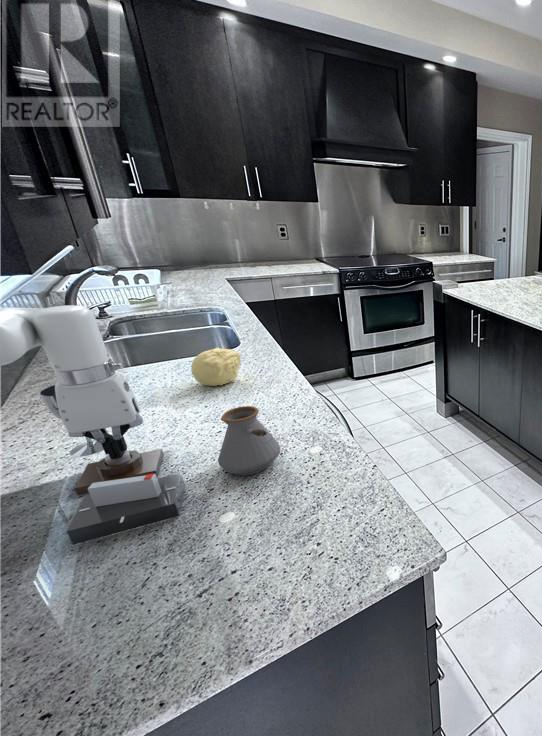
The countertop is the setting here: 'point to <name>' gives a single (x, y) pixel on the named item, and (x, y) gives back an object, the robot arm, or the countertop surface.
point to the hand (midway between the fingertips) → (118, 454)
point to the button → (118, 459)
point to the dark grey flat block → (126, 512)
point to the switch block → (120, 469)
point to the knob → (124, 490)
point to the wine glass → (51, 404)
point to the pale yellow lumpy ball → (216, 366)
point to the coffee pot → (246, 443)
